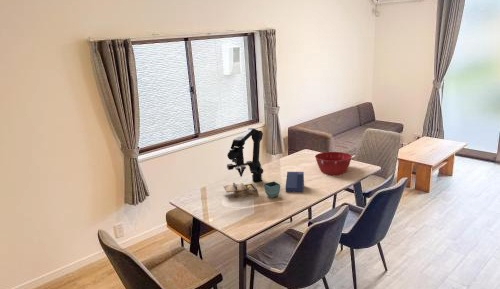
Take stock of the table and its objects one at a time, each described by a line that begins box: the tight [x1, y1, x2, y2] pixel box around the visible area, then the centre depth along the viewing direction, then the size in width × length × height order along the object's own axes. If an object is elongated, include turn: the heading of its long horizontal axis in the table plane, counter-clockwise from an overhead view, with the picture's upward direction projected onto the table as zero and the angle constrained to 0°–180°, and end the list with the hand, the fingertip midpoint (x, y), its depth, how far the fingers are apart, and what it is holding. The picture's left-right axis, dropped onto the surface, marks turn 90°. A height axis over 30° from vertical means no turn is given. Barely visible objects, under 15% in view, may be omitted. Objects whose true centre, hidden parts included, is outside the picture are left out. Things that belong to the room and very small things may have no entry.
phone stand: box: [285, 171, 305, 194], centre depth 262 cm, size 12×12×12 cm
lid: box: [223, 182, 247, 194], centre depth 260 cm, size 14×13×3 cm
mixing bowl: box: [314, 151, 353, 176], centre depth 291 cm, size 28×28×16 cm
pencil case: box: [233, 183, 258, 199], centre depth 262 cm, size 15×13×4 cm
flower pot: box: [263, 181, 281, 198], centre depth 253 cm, size 9×9×9 cm
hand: (241, 176), depth 264 cm, fingers closed
